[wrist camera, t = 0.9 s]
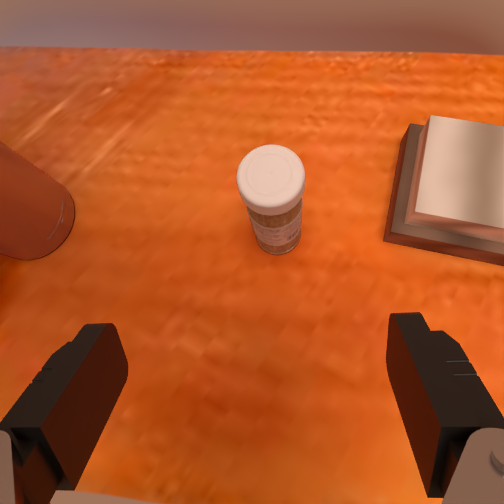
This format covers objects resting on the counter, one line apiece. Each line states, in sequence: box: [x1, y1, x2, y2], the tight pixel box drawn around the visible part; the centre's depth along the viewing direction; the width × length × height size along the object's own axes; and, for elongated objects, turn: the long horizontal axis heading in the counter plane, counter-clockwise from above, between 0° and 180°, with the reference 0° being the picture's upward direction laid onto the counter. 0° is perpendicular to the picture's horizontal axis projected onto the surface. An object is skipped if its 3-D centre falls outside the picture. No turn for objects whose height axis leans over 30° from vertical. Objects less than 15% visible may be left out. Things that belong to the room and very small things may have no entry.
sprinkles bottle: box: [237, 145, 305, 255], centre depth 31 cm, size 5×5×14 cm
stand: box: [383, 115, 504, 266], centre depth 34 cm, size 11×11×6 cm
